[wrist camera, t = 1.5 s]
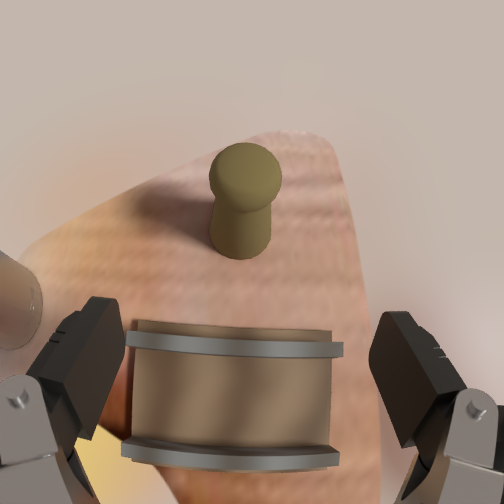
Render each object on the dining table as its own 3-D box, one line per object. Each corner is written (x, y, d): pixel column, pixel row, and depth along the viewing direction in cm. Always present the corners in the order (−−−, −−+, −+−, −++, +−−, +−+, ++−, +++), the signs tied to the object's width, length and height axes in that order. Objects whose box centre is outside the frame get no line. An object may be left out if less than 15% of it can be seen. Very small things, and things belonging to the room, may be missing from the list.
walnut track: (134, 458, 23) (121, 470, 19) (141, 321, 27) (128, 313, 24) (323, 466, 24) (337, 479, 20) (328, 332, 28) (343, 325, 25)
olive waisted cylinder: (201, 212, 32) (192, 140, 21) (258, 196, 33) (272, 123, 23) (219, 268, 30) (216, 212, 20) (280, 249, 31) (305, 188, 21)
